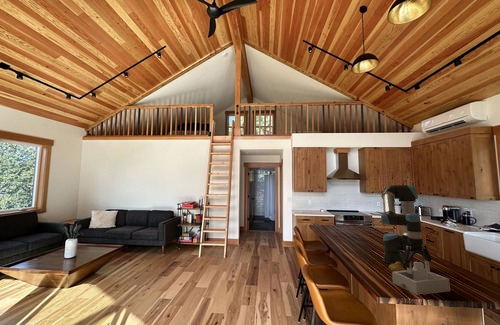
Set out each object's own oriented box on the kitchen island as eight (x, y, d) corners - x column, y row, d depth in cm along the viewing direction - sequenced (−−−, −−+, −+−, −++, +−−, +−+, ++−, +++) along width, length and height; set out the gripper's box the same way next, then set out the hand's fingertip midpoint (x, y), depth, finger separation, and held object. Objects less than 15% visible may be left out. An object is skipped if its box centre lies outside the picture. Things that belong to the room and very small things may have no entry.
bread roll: (408, 278, 147) (407, 266, 148) (392, 277, 150) (391, 265, 151) (402, 272, 159) (401, 260, 160) (387, 270, 162) (386, 259, 163)
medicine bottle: (414, 278, 140) (412, 259, 142) (428, 280, 136) (425, 261, 137) (413, 281, 135) (411, 261, 136) (428, 284, 130) (425, 264, 132)
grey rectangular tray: (390, 283, 141) (389, 271, 142) (423, 279, 145) (421, 268, 146) (414, 295, 124) (413, 282, 125) (450, 291, 129) (448, 278, 129)
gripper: (403, 240, 133) (407, 276, 130) (436, 238, 137) (441, 272, 134) (393, 237, 140) (396, 271, 137) (425, 235, 144) (429, 268, 142)
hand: (418, 272), depth 136 cm, fingers open, 13 cm apart
